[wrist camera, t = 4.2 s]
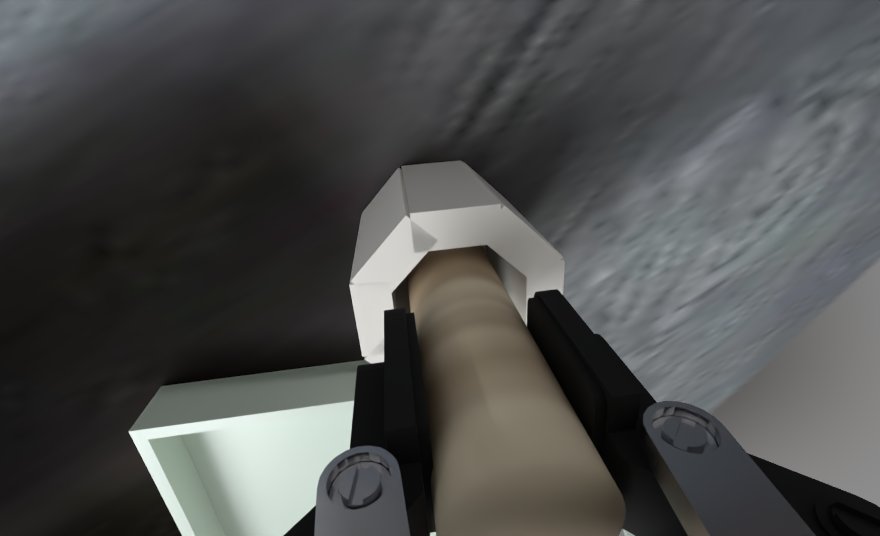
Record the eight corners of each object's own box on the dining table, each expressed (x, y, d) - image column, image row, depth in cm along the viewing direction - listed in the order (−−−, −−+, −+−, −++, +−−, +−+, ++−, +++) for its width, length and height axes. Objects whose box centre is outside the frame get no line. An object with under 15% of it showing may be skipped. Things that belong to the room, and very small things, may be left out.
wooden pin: (399, 216, 17) (430, 483, 6) (474, 208, 17) (636, 451, 6) (407, 283, 18) (444, 605, 7) (476, 275, 18) (614, 573, 7)
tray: (161, 386, 21) (128, 431, 18) (492, 343, 22) (506, 380, 20) (249, 584, 28) (235, 638, 26) (496, 543, 30) (507, 590, 27)
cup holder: (354, 170, 18) (337, 220, 12) (505, 156, 18) (568, 196, 12) (375, 304, 21) (371, 404, 14) (506, 288, 21) (557, 378, 15)
